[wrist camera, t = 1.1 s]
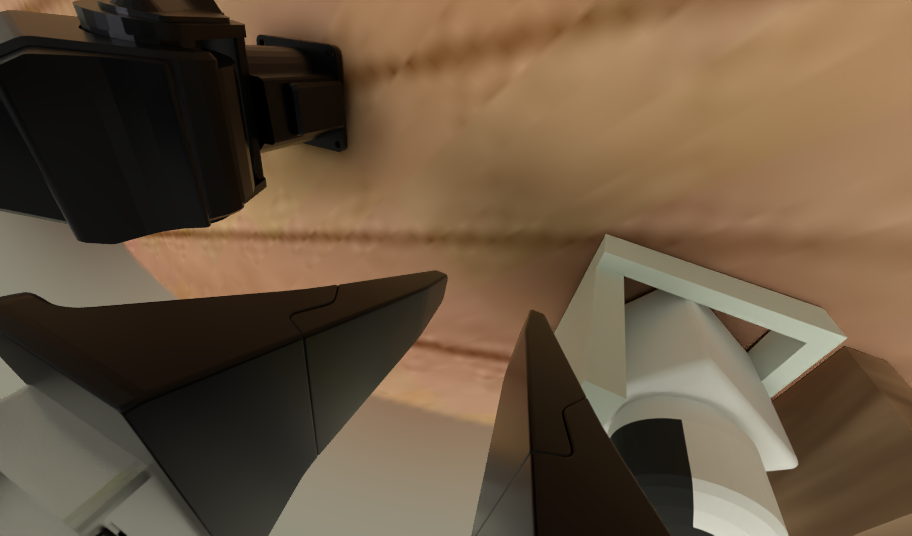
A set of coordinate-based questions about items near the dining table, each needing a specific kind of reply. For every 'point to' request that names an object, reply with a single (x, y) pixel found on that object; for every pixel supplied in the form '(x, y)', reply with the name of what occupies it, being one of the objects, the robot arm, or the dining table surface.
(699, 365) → the medicine bottle
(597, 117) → the dining table surface
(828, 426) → the wall
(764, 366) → the white angle bracket
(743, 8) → the dining table surface
